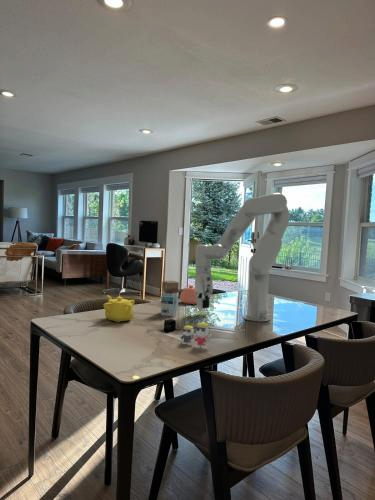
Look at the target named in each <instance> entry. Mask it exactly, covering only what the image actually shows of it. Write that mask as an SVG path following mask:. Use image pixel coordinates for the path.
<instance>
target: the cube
mask: <svg viewBox="0 0 375 500" xmlns="http://www.w3.org/2000/svg"><path fill="white" fill-rule="evenodd" d="M203 300H204V298H203V297H202V298H197V303H196V308H198V309H203V310H204V309H205V308H203Z"/></svg>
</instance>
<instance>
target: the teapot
mask: <svg viewBox="0 0 375 500" xmlns="http://www.w3.org/2000/svg"><path fill="white" fill-rule="evenodd" d="M106 296H107V299H108V301H107V302H105V303H103V308H104V315H105V318H106V319H108V320H109V321H113V322H115V323H120V322H129V321H131V320H132V319H133V318H134V315H135V314H134V308H133V307H134V305H135V300H134V299H126V298H123V296H117V297H116V298H112V296H111V295H108V294H107V295H106Z"/></svg>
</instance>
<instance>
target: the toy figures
mask: <svg viewBox="0 0 375 500" xmlns="http://www.w3.org/2000/svg"><path fill="white" fill-rule="evenodd" d="M209 330H210V329H209V324H208V323H206V322H198V323H197V325H196V326H195V333H194V326H192V325H184V326H183V328H182V332H183V334H182V335H181V336H180V339H181V340H182V341H181V343H182V345H187V346H193V343H192V341H193V340H194V341H195V343H197V344H195V345H194V348H196V349H197V348H198V349H199V348H200V349H202V348H203V349H202V350H207V348H208V347H207V345H206V343H209V341H210V340H211V339H212V336H213V334H212V333H209V332H210V331H209Z"/></svg>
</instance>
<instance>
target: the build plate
mask: <svg viewBox="0 0 375 500" xmlns="http://www.w3.org/2000/svg"><path fill="white" fill-rule="evenodd" d="M176 321H177V320H176V319H172V318H169V319H165V320H164V322H163V328H162V329H158V330H157V332H160V333H164V334H170V333H174V332H177V331H181V330H182V328H179V327H177V322H176Z"/></svg>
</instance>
